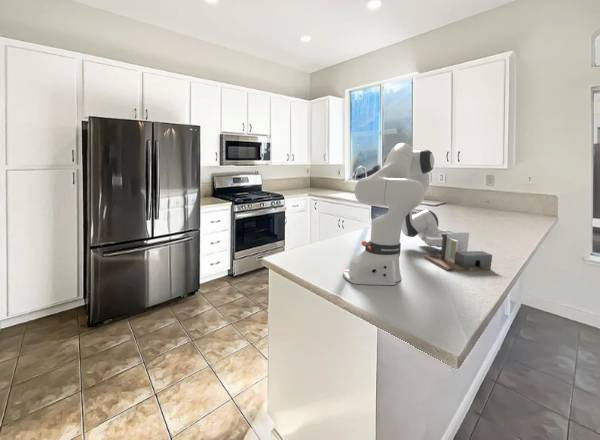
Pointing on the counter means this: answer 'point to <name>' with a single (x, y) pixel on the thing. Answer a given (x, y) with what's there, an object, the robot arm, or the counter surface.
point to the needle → (443, 246)
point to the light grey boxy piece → (459, 239)
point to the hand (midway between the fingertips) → (455, 245)
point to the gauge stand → (461, 258)
